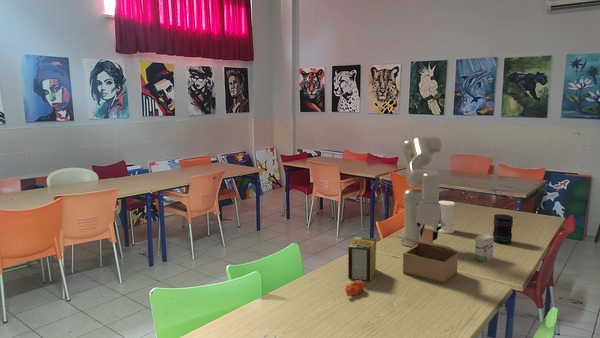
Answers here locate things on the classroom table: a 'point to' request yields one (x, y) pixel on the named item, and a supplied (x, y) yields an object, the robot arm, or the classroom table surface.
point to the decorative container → (447, 216)
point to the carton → (430, 263)
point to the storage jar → (502, 229)
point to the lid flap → (430, 241)
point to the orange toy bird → (355, 287)
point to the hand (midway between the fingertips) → (428, 237)
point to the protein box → (362, 258)
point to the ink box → (484, 247)
